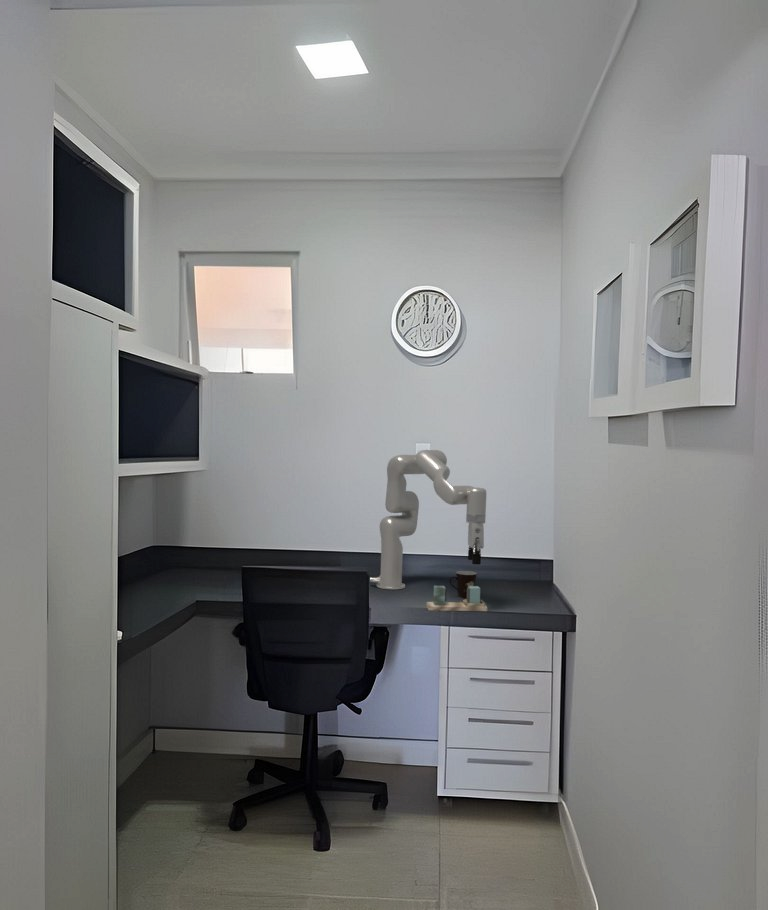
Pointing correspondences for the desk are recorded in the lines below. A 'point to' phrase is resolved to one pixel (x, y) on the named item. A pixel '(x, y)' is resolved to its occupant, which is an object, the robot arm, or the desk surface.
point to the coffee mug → (464, 582)
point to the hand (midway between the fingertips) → (474, 562)
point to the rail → (441, 603)
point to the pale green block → (473, 595)
